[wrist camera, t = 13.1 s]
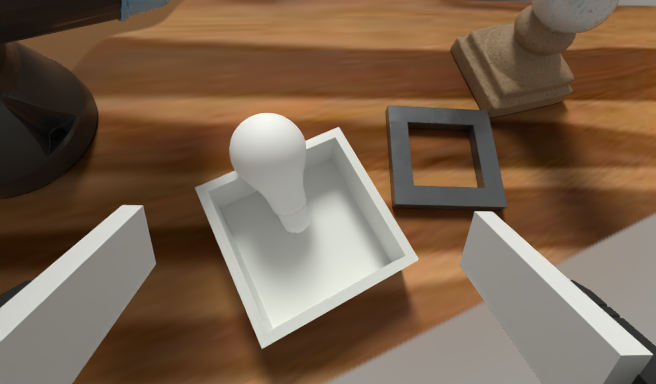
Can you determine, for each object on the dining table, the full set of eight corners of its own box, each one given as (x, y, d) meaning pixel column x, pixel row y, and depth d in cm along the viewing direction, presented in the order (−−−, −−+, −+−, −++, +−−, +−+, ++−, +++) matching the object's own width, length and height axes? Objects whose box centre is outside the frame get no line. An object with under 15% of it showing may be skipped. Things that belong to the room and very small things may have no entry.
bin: (211, 205, 30) (194, 187, 26) (333, 152, 33) (338, 127, 29) (269, 341, 27) (261, 348, 22) (400, 267, 30) (419, 259, 25)
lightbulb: (343, 229, 27) (302, 104, 22) (278, 262, 25) (219, 135, 21) (318, 205, 32) (280, 100, 27) (262, 231, 31) (213, 125, 26)
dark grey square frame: (392, 207, 32) (395, 204, 31) (385, 111, 36) (388, 105, 35) (500, 210, 33) (507, 207, 31) (481, 116, 37) (487, 110, 35)
